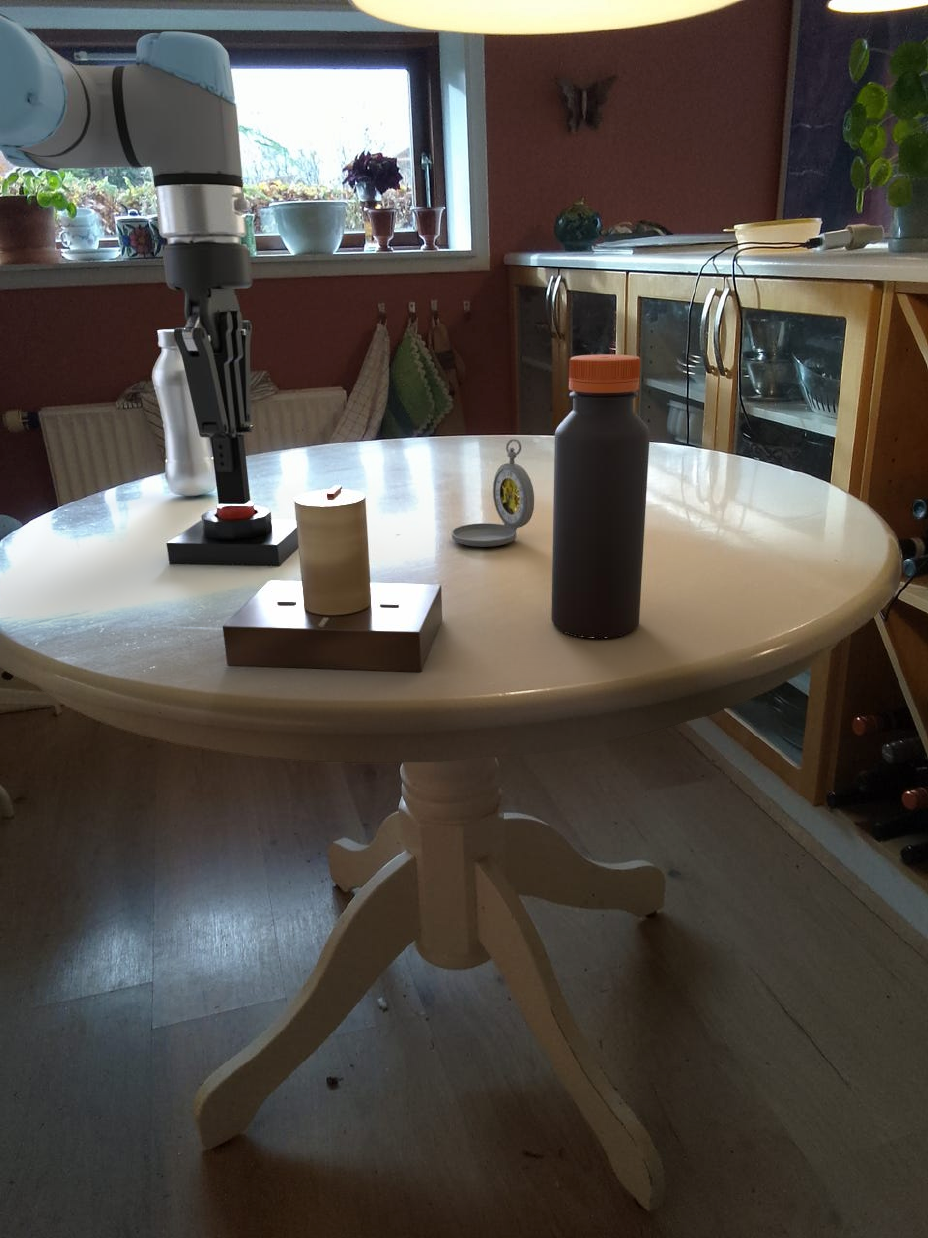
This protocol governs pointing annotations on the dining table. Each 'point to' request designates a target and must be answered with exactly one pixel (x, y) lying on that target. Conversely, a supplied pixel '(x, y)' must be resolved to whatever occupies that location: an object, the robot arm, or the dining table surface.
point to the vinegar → (599, 500)
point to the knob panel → (336, 630)
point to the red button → (235, 511)
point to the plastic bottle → (181, 425)
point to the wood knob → (333, 551)
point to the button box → (235, 541)
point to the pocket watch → (503, 507)
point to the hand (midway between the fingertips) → (234, 502)
